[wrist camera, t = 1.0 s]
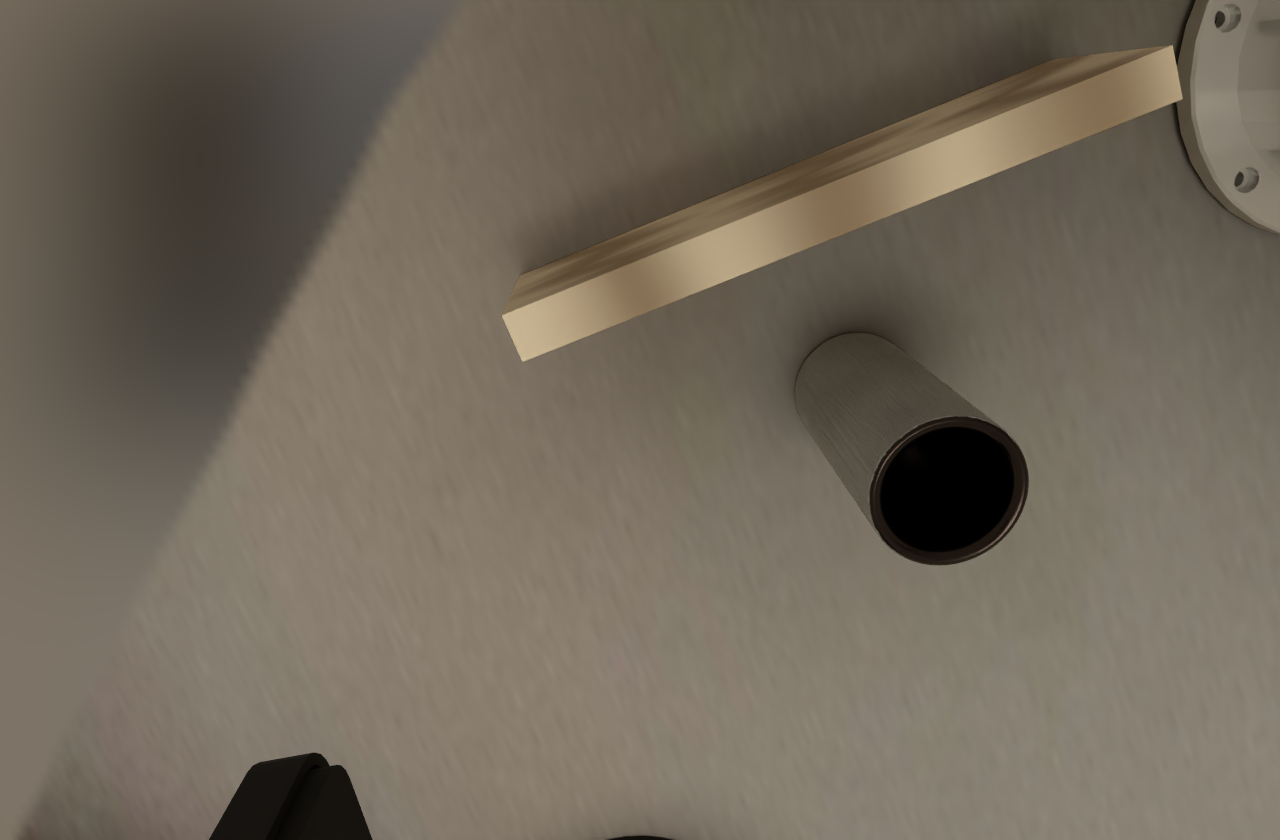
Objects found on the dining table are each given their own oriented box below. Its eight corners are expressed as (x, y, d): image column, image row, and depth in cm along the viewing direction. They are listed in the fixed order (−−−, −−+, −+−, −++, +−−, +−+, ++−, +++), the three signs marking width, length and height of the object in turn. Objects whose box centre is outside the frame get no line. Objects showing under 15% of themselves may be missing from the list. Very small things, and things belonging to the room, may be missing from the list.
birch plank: (1053, 59, 32) (1172, 44, 25) (1062, 101, 33) (1182, 98, 26) (520, 275, 34) (501, 315, 27) (536, 313, 34) (522, 361, 27)
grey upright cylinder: (913, 435, 36) (1032, 554, 26) (798, 453, 36) (874, 578, 26) (907, 322, 35) (1030, 404, 25) (787, 340, 35) (863, 430, 25)
